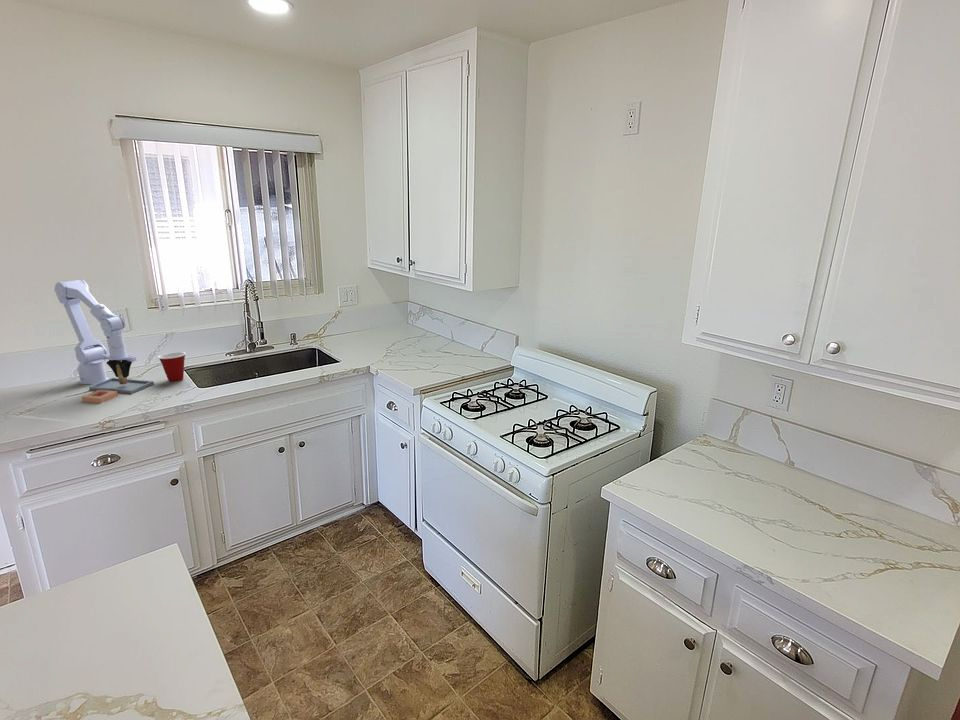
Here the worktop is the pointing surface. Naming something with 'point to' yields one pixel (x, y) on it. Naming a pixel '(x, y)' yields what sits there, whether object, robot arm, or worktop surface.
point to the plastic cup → (173, 365)
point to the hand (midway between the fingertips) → (122, 376)
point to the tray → (122, 385)
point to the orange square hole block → (99, 396)
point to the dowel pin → (121, 376)
